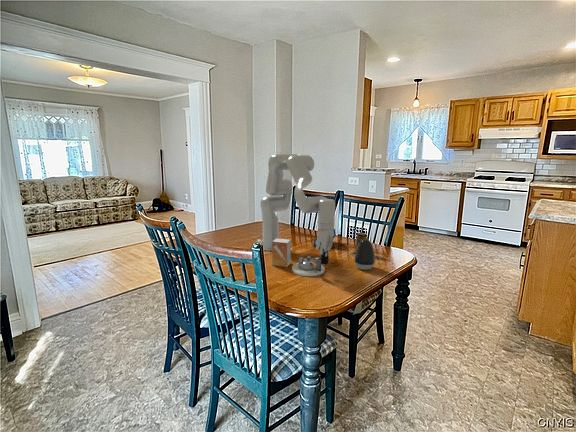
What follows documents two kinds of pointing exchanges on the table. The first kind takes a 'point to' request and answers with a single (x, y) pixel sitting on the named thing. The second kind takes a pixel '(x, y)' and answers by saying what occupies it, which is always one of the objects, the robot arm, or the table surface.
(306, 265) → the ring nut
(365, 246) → the pump dispenser
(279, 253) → the small box
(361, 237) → the condiment
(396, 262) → the table surface
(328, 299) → the table surface
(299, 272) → the cap plate
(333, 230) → the handheld game console
